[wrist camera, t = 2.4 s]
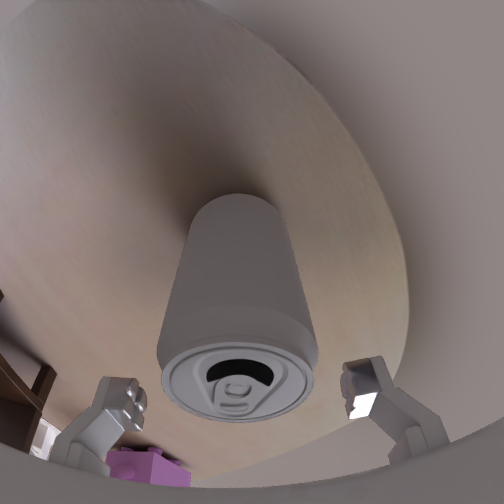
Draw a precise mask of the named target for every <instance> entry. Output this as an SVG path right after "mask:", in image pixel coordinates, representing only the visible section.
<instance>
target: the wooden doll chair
mask: <svg viewBox="0 0 504 504" xmlns="http://www.w3.org/2000/svg"><path fill="white" fill-rule="evenodd" d="M3 297H4V296H3V294H2V292H1V290H0V302H1V300H2V299H3ZM56 375H57V374H56V372H55V371H54V370H53V368H52V367H51V366H45V365H42V367H41V369H40V371H39V373H38V375H37V377H36V380H35V382H34V384H33V386H32V389H31V390H30V389H29V387H28V386H27V385H26V384H25V383H24V382H23V381H22V380H21V378H20V377H19V376H18V375H17V374H16V372H15V371H14V370H13V369H12V368H11V366H10V365H9V364H8V363H7V361H6V360H5V359H4V358H3V356H2V355H1V354H0V442H1V443H3V444H5V445H8V446H10V447H12V448H15V449H17V450H20V451H22V452H25V453H27V454H29V451H30V448H31V445H32V442H33V439H34V436H35V433H36V430H37V427H38V424H39V422H40V419H41V416H42V410H43V407H44V404H45V402H46V400H47V397H48V395H49V392H50V390H51V387H52V385H53V382H54V380H55V378H56Z"/></svg>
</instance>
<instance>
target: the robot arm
mask: <svg viewBox="0 0 504 504" xmlns="http://www.w3.org/2000/svg"><path fill="white" fill-rule="evenodd" d="M342 369H343V372H344V373H343V374H342V375H341V379H340V383H341V392H342V396H343V397H344V398H345V399H347V400H346V404H345V407H346V411H347V415H348V419H354V418H359V417H364V416H369V417H370V418H371V419H372V420H373V421H374V422H375V423H376V424H377V425H378V426H379V427H380V428H382V430H384V431H385V432H386V433H387V434H388V435H389V436H390V437H391V438H392V439H393V440H394V441H395V442H396V445H395V446H394V447H393V449H392V450H391V451H390V453H389V454H388V457H389V461H390V465H386V466H383V467H380V468H376V469H372V470H368V471H364V472H360V473H355V474H351V475H346V476H341V477H336V478H331V479H326V480H319V481H313V482H306V483H298V484H290V485H281V486H270V487H269V486H268V487H252V488H195V487H179V486H167V485H158V484H150V483H142V482H135V481H129V480H123V479H118V478H112V477H109V475H110V469H111V468H110V466H109V465H108V464H106V463H105V462H104V461H102V460H101V459H102V458H103V457H104V456H105V455H106V453H107V452H108V451H109V450H110V448H111V447H112V446H113V445H114V444H115V442H116V441H117V440H118V439H119V437H120V436H121V435H122V434H123V432H124V430H128V431H142V428H143V423H144V417H143V415H142V413H143V412H144V411H145V410H146V408H147V396H146V392H145V391H144V389H142V388H141V387H139V382H138V380H137V379H136V378H120V377H105V376H103V377H102V378H101V380H100V383H99V386H98V389H97V392H96V395H95V398H94V401H93V404H92V407H88V408H87V409H86V410H85V411H84V412H83V413H82V414H80V415H79V416H78V417H77V418H76V419H75V420H74V421H73V422H72V423H71V424H70V425H68V426H67V427H66V428H65V429H64V430H63V431H62V432H61V433H60V434H59V435H57V436H56V438H55V441H54V444H53V448H52V451H51V454H50V458H49V461H47V460H44V459H41V458H38V457H36V456H33V455H30V454H27V453H25V452H22V451H20V450H17V449H15V448H12V447H10V446H8V445H5V444H3V443H1V442H0V504H504V417H502V418H501V419H499V420H497V421H495V422H493V423H492V424H490V425H488V426H486V427H484V428H482V429H480V430H478V431H476V432H474V433H472V434H469V435H467V436H465V437H463V438H461V439H458V440H456V441H454V442H451V443H450V441H449V439H448V436H447V434H446V431H445V429H444V426H443V423H442V421H441V418H440V416H438V415H437V414H435V413H434V412H432V411H431V410H430V409H428V408H427V407H425V406H424V405H423V404H421V403H420V402H418V401H417V400H415V399H414V398H413V397H411V396H410V395H408V394H407V393H406V392H404V391H403V390H401V389H400V388H395V387H394V384H393V382H392V379H391V377H390V374H389V372H388V369H387V367H386V364H385V362H384V359H383V357H382V356H376V357H371V358H365V359H360V360H355V361H350V362H345V363H344V364H343V367H342Z"/></svg>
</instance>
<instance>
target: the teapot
mask: <svg viewBox="0 0 504 504" xmlns="http://www.w3.org/2000/svg"><path fill="white" fill-rule="evenodd" d="M121 449H122V451H110V450H109V451H108V452H107V457H106V461H105V463H106V464H108V465H109V466H110V468H111V469H110V475H109V477H112V478H118V479H123V480H129V481H135V482H142V483H150V484H158V485H167V486H179V487H190V481H191V473H189V472H188V471H186V470H184V469H182V468H180V467H179V466H178V465H180V464H181V462H180V461H177V460H167V459H165V458H163V457H162V456H161V454H162V452H163V451H162V450H161V449H158V448H154V447H149V448H148V452H135V451H134V450H132V449H130V448H127V447H121Z"/></svg>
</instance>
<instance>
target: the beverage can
mask: <svg viewBox="0 0 504 504" xmlns="http://www.w3.org/2000/svg"><path fill="white" fill-rule="evenodd" d="M157 359H158V362H159V365H160V367H161V369H162V374H161V384H162V387H163V390H164V392H165V393H166V395H167V396H168V397H169V399H170V400H171V401H172V402H174V403H175V404H176V405H177V406H179V407H180V408H182V409H184V410H185V411H187V412H189V413H192V414H194V415H197V416H199V417H202V418H206V419H210V420H215V421H221V422H230V423H246V422H256V421H262V420H267V419H271V418H274V417H277V416H280V415H283V414H285V413H287V412H289V411H291V410H293V409H295V408H296V407H298V406H299V405H300V404H301V403H303V402H304V401H305V400H306V399H307V397H308V396H309V395H310V393H311V391H312V389H313V386H314V375H313V371H314V369H315V367H316V364H317V361H318V346H317V342H316V338H315V334H314V330H313V326H312V321H311V317H310V313H309V310H308V306H307V302H306V298H305V294H304V290H303V286H302V282H301V279H300V275H299V271H298V267H297V264H296V260H295V256H294V253H293V249H292V245H291V242H290V238H289V234H288V231H287V227H286V224H285V222H284V220H283V218H282V216H281V215H280V213H279V212H278V211H277V210H276V209H275V208H274V207H273V206H272V205H270V204H269V203H268V202H266V201H265V200H263V199H261V198H258V197H256V196H253V195H248V194H228V195H224V196H221V197H218V198H216V199H214V200H212V201H210V202H208V203H207V204H206V205H204V206H203V207H202V208H201V209H200V210H199V211H198V213H197V214H196V216H195V217H194V219H193V221H192V223H191V226H190V229H189V232H188V236H187V239H186V242H185V246H184V249H183V252H182V256H181V259H180V262H179V266H178V269H177V273H176V276H175V280H174V283H173V287H172V291H171V294H170V298H169V302H168V306H167V309H166V313H165V317H164V321H163V325H162V329H161V333H160V337H159V341H158V345H157Z"/></svg>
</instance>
